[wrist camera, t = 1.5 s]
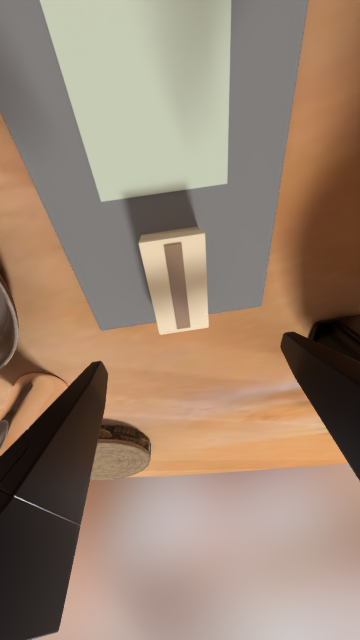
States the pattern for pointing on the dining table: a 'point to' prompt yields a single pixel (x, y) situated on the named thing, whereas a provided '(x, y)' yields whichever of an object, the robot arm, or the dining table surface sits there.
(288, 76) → the rubber mat
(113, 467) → the wood slice coaster
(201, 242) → the slotted cream block
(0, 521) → the robot arm
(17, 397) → the beer glass
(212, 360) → the dining table surface
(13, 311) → the plant saucer
